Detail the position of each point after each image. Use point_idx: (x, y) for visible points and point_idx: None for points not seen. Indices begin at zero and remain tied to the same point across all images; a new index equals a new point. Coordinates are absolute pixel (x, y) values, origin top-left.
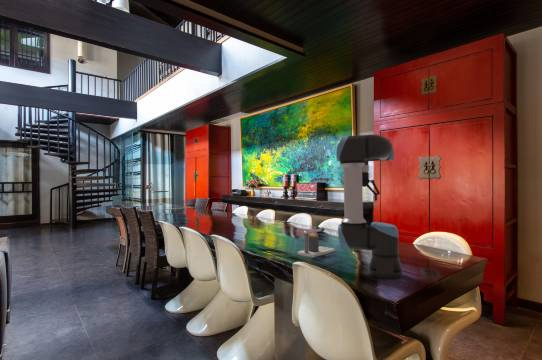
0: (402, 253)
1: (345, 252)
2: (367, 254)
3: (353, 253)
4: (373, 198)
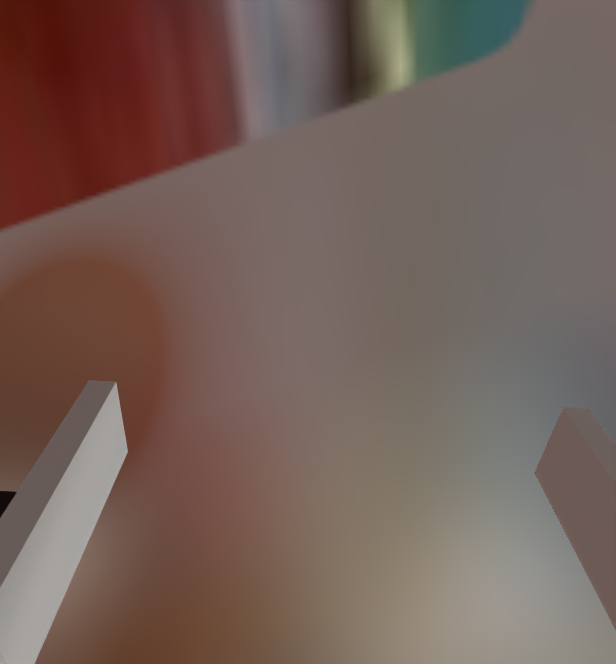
0: (32, 154)
1: (468, 33)
2: (279, 14)
3: (398, 13)
4: (33, 525)
